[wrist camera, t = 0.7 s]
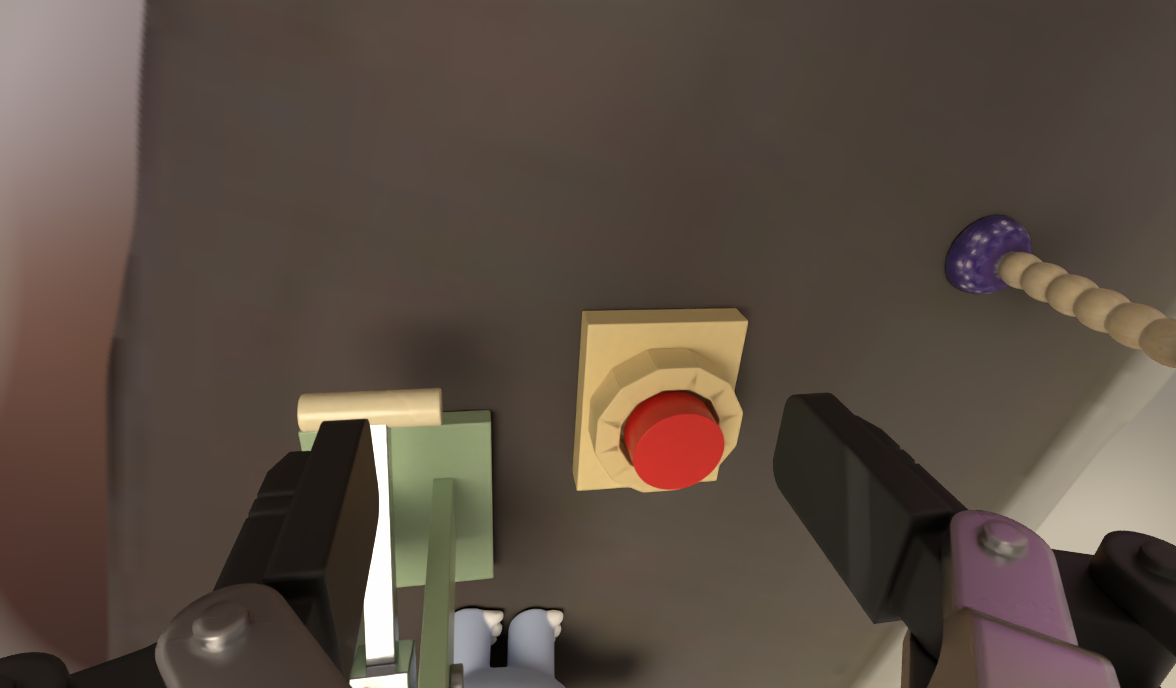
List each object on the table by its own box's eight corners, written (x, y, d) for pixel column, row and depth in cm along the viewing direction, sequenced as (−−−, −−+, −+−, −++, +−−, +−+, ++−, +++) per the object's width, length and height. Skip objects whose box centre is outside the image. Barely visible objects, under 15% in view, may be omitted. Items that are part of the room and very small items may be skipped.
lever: (310, 389, 23) (292, 398, 21) (442, 384, 24) (439, 391, 22) (324, 716, 24) (307, 760, 22) (452, 699, 25) (450, 739, 23)
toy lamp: (932, 302, 33) (1297, 523, 18) (937, 222, 31) (1359, 402, 16) (1014, 278, 33) (1438, 478, 19) (1025, 196, 31) (1520, 352, 16)
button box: (582, 310, 29) (596, 344, 26) (736, 307, 31) (766, 339, 28) (572, 472, 34) (582, 517, 31) (706, 463, 36) (730, 505, 32)
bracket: (303, 418, 30) (205, 657, 18) (490, 409, 31) (503, 624, 20) (333, 577, 35) (270, 840, 24) (492, 562, 36) (504, 802, 25)
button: (627, 392, 28) (638, 416, 27) (716, 388, 29) (732, 411, 27) (620, 467, 30) (629, 493, 29) (703, 461, 31) (716, 486, 29)
